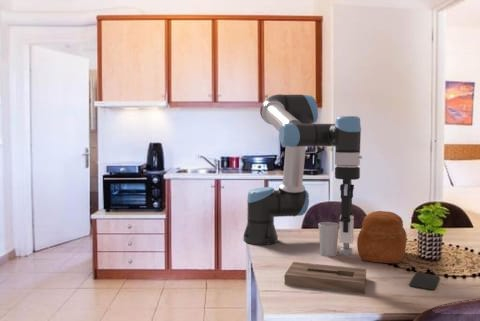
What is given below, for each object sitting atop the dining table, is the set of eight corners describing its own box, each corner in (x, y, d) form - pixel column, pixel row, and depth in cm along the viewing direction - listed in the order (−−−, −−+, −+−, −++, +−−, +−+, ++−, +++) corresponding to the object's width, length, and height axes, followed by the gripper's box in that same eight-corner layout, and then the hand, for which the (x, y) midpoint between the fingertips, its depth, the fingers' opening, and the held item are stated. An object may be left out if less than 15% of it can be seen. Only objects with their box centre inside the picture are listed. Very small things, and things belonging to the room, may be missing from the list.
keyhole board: (293, 270, 147) (293, 261, 146) (365, 278, 139) (366, 268, 139) (284, 284, 133) (284, 274, 133) (364, 293, 126) (364, 282, 126)
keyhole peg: (340, 251, 136) (340, 214, 136) (353, 252, 135) (353, 215, 134) (339, 254, 132) (339, 217, 132) (352, 255, 131) (352, 217, 130)
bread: (406, 251, 172) (407, 210, 171) (405, 266, 152) (406, 220, 151) (361, 247, 178) (362, 207, 177) (354, 261, 159) (355, 216, 158)
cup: (338, 257, 163) (339, 226, 162) (317, 256, 164) (318, 225, 164) (338, 252, 171) (338, 222, 170) (318, 250, 172) (318, 221, 171)
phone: (440, 275, 141) (434, 289, 128) (440, 278, 141) (434, 292, 128) (416, 272, 145) (408, 285, 132) (416, 274, 145) (408, 287, 132)
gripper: (358, 168, 123) (357, 248, 124) (361, 164, 139) (359, 235, 140) (332, 167, 125) (331, 246, 127) (337, 164, 141) (336, 233, 143)
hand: (346, 240), depth 133 cm, fingers closed on keyhole peg, 4 cm apart
